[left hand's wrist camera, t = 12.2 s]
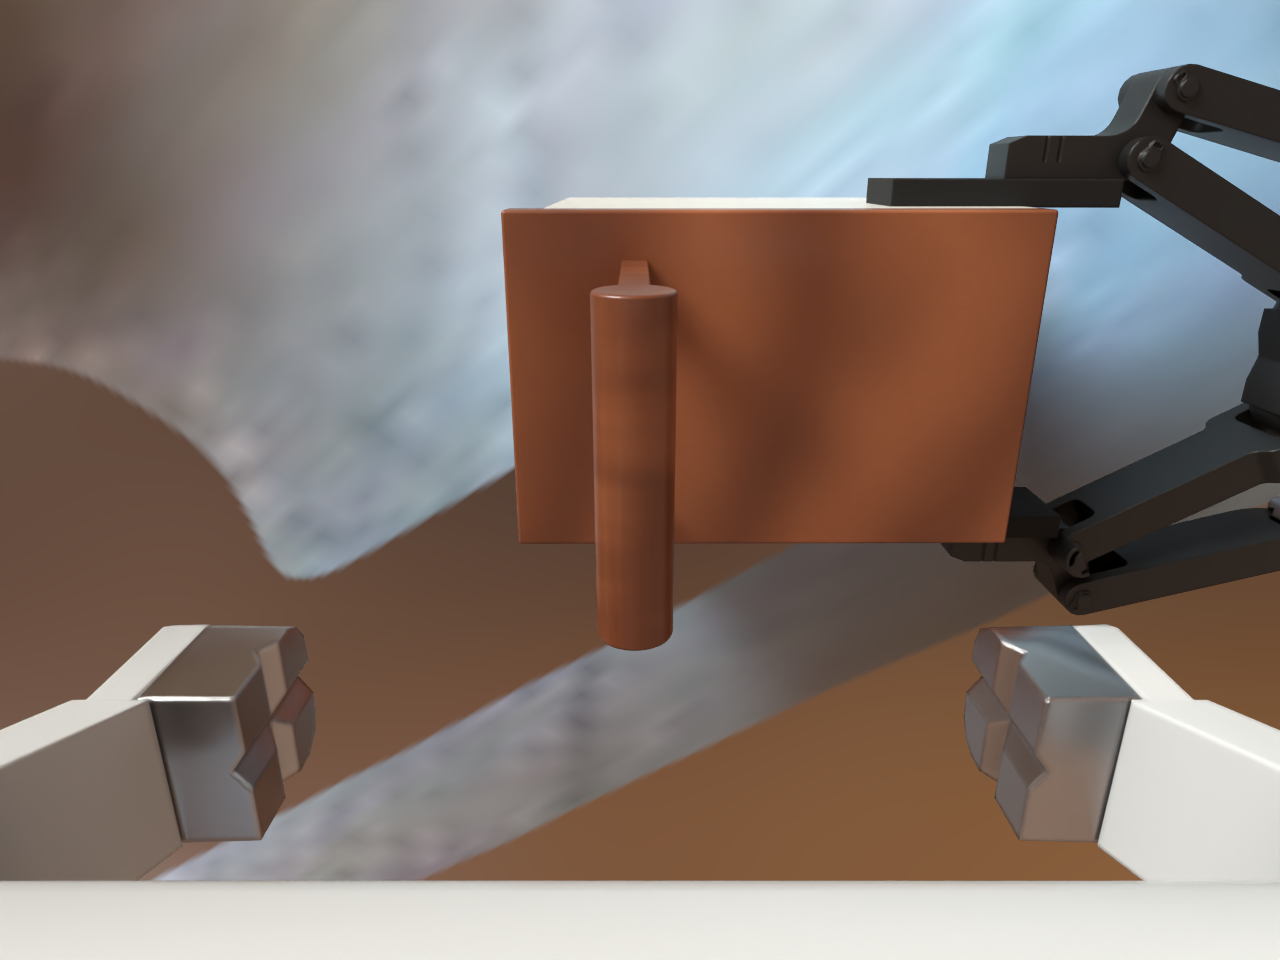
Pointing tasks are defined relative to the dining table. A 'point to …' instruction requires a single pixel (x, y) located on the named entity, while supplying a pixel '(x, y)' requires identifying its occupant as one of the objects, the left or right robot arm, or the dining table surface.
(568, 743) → the dining table surface
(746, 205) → the chest
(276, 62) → the dining table surface
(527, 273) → the lid
